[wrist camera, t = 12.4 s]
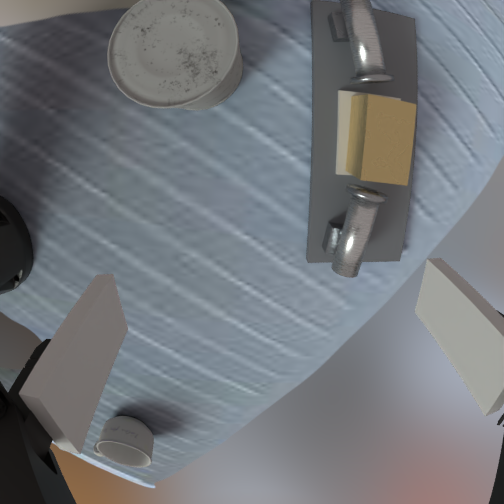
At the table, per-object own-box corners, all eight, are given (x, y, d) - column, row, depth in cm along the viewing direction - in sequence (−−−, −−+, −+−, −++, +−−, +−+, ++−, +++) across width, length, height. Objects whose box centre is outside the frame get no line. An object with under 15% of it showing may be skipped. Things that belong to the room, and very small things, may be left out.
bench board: (306, 258, 38) (307, 262, 37) (310, 3, 26) (312, -1, 25) (396, 257, 38) (399, 261, 37) (410, 20, 26) (414, 18, 25)
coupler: (351, 96, 29) (368, 94, 24) (394, 104, 29) (416, 104, 24) (345, 170, 32) (360, 180, 27) (387, 175, 32) (407, 185, 27)
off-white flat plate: (335, 173, 33) (336, 174, 32) (338, 90, 29) (339, 90, 28) (393, 177, 33) (396, 178, 32) (398, 98, 29) (400, 98, 28)
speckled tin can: (163, 120, 31) (120, 125, 20) (147, 42, 27) (99, 13, 16) (251, 99, 31) (251, 90, 19) (233, 19, 27) (224, -26, 15)
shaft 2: (353, 259, 37) (368, 283, 32) (319, 253, 36) (330, 277, 31) (374, 187, 33) (395, 200, 28) (338, 178, 33) (354, 190, 28)
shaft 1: (325, 9, 25) (338, -9, 20) (363, 9, 25) (383, -7, 20) (341, 86, 29) (359, 81, 23) (379, 84, 28) (402, 80, 23)
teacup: (143, 408, 51) (134, 443, 43) (166, 439, 55) (160, 471, 48) (86, 407, 52) (73, 437, 44) (111, 437, 56) (102, 465, 49)
